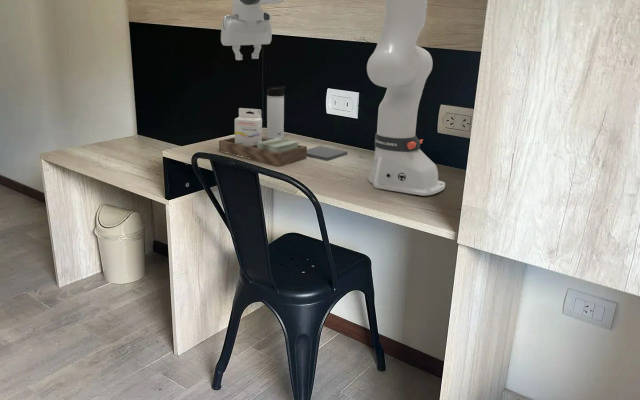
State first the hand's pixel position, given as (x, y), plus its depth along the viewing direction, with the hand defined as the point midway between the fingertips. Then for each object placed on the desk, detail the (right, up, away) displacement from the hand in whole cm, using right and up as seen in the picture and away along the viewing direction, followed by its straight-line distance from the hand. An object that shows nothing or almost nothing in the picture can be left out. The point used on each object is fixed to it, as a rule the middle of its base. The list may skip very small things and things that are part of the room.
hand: (247, 59), depth 182 cm
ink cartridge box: (-1, -30, +10) cm, 31 cm away
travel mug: (+7, -23, +29) cm, 38 cm away
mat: (+25, -30, +10) cm, 40 cm away
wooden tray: (+4, -31, +6) cm, 32 cm away
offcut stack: (+10, -33, +2) cm, 34 cm away
